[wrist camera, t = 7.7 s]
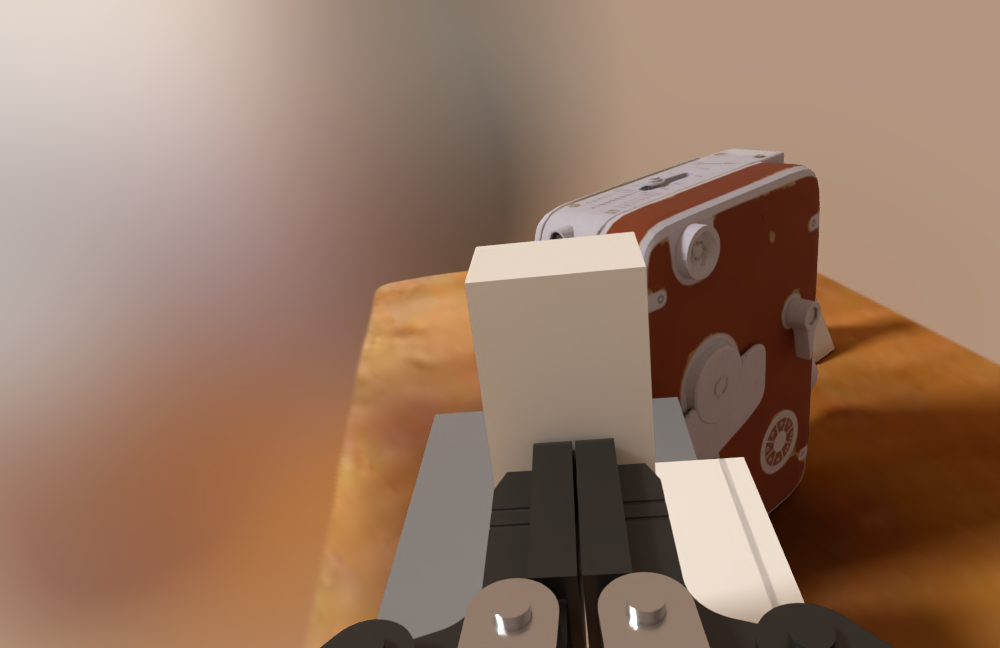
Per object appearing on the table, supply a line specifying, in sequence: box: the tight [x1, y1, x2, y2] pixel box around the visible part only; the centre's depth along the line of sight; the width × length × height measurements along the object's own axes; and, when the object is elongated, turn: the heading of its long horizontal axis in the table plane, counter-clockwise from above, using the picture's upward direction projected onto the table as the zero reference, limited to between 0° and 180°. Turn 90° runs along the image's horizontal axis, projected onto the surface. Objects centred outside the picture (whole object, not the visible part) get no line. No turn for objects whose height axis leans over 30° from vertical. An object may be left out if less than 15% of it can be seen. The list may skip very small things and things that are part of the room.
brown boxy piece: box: [535, 149, 821, 514], centre depth 40 cm, size 9×19×20 cm, turn 130°
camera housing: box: [377, 397, 697, 639], centre depth 27 cm, size 20×10×13 cm, turn 176°
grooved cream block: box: [465, 232, 804, 648], centre depth 21 cm, size 9×7×23 cm
